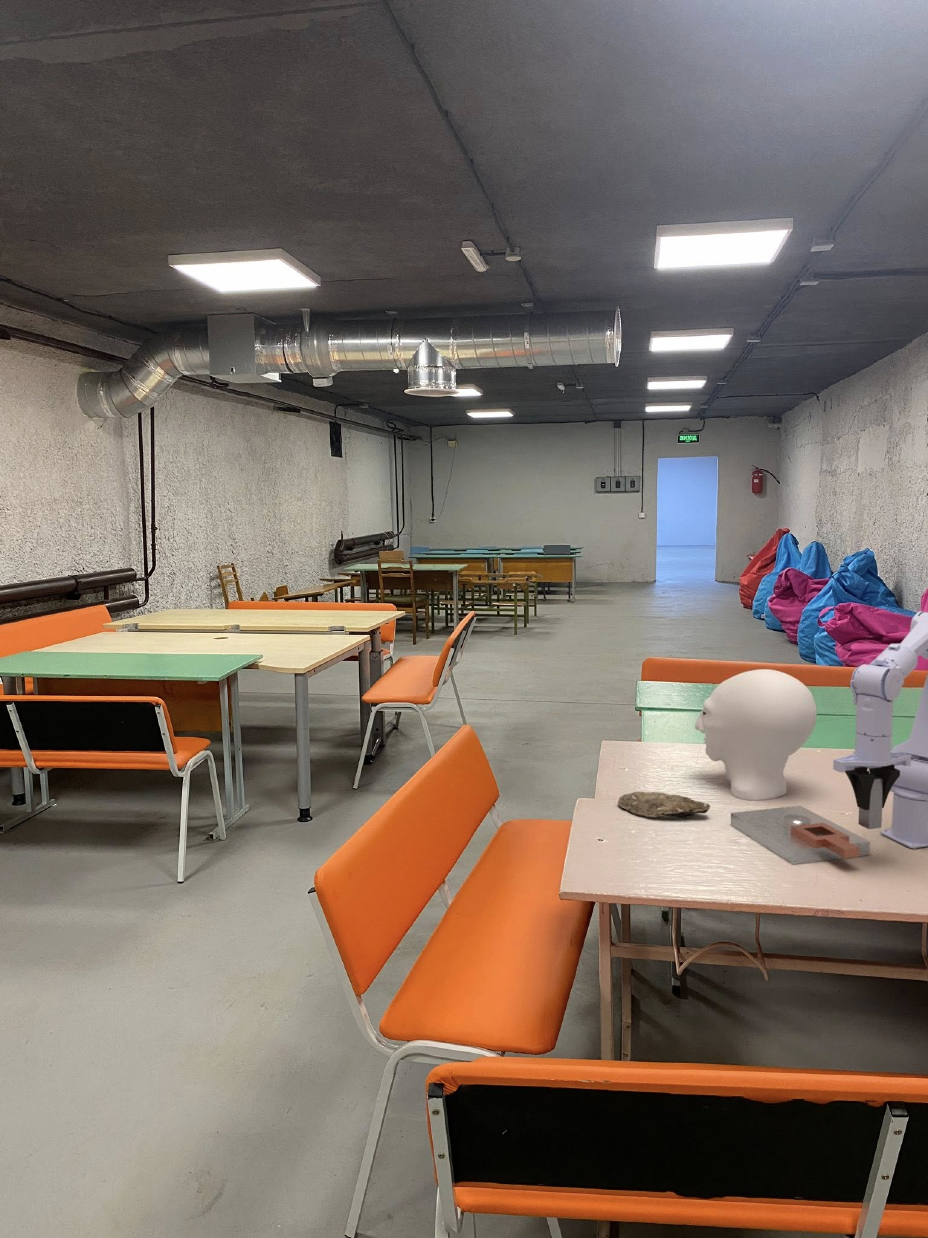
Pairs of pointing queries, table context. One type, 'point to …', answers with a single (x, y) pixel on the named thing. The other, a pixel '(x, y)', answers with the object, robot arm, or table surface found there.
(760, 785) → the head sculpture
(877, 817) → the grey rectangular block
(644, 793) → the rock
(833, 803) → the table surface
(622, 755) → the table surface
